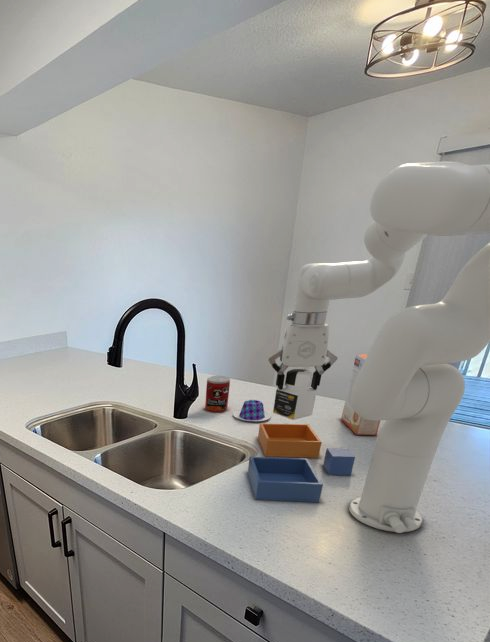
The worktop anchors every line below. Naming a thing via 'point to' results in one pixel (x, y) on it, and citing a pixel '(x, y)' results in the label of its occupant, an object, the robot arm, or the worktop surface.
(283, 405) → the medicine bottle
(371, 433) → the cracker box
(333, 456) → the blue block
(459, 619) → the worktop surface
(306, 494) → the blue bin
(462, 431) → the worktop surface
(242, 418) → the pudding
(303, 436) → the amber bin
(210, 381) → the canned food
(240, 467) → the worktop surface
